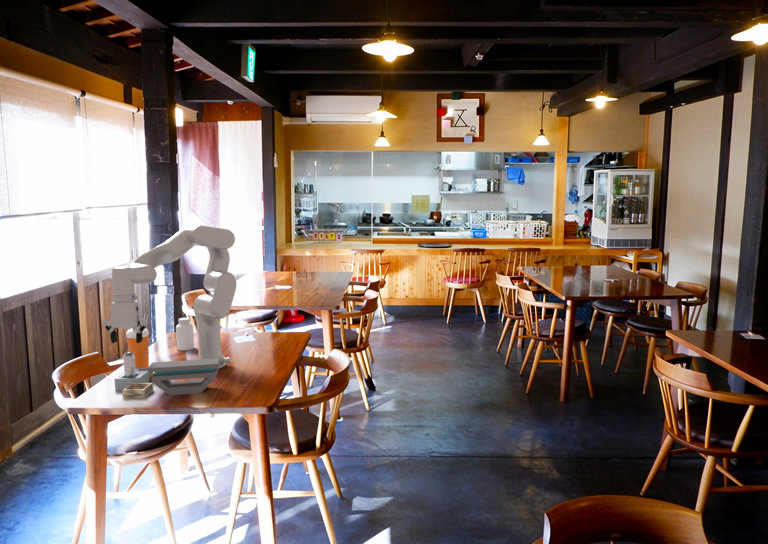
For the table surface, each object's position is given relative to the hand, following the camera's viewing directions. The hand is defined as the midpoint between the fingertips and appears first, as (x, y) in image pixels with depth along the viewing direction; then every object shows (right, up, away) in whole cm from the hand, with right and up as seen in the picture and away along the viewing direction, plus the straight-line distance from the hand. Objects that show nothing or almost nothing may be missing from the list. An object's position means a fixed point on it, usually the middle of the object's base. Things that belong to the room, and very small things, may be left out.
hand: (126, 342), depth 227 cm
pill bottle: (+3, -11, +60) cm, 60 cm away
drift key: (+4, -17, +11) cm, 20 cm away
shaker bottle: (-4, -15, +23) cm, 28 cm away
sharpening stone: (+24, -18, -3) cm, 30 cm away
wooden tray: (+7, -19, -6) cm, 21 cm away
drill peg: (+1, -18, +3) cm, 18 cm away
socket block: (+1, -17, +6) cm, 18 cm away
